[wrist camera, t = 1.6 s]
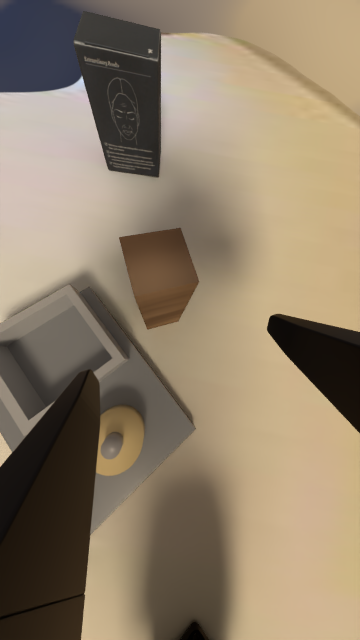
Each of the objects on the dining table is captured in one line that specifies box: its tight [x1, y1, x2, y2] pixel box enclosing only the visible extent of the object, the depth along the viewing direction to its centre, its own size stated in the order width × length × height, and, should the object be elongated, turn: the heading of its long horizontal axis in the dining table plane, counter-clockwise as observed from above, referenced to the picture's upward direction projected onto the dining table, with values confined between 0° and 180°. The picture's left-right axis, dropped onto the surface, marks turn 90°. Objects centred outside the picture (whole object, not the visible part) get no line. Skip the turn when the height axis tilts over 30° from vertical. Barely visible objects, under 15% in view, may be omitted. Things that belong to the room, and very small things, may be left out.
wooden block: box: [119, 228, 199, 329], centre depth 15 cm, size 4×4×11 cm
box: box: [74, 11, 161, 177], centre depth 21 cm, size 8×6×11 cm
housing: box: [0, 284, 196, 535], centre depth 15 cm, size 20×14×4 cm
